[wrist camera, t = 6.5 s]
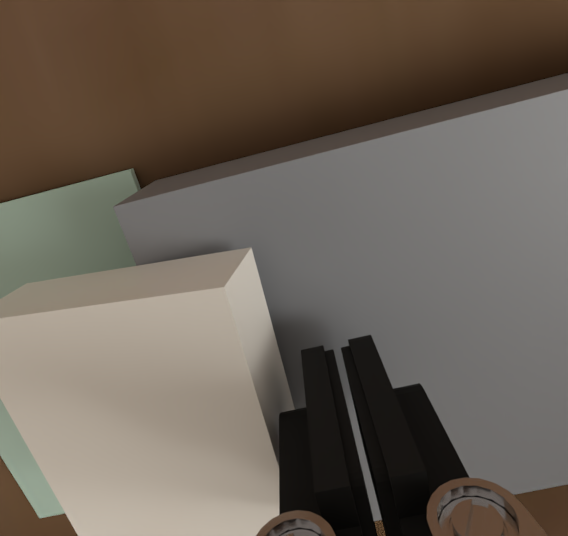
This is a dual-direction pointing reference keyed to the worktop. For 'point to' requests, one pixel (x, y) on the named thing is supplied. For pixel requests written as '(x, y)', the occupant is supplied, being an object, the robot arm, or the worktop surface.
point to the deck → (409, 263)
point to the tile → (150, 395)
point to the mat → (57, 264)
